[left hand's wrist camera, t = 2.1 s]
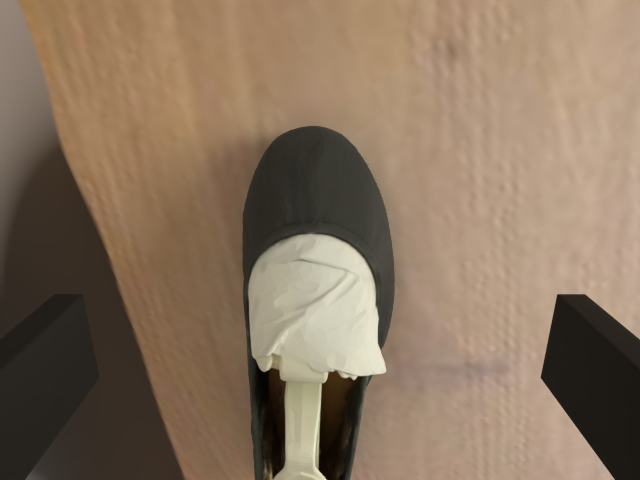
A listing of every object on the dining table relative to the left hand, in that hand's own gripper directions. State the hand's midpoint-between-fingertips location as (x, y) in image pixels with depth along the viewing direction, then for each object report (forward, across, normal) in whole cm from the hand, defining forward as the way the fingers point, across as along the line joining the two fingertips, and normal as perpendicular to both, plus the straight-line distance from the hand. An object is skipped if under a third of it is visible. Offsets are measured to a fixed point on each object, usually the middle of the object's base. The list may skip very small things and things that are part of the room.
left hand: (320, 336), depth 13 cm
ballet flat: (+13, 0, -8) cm, 15 cm away
